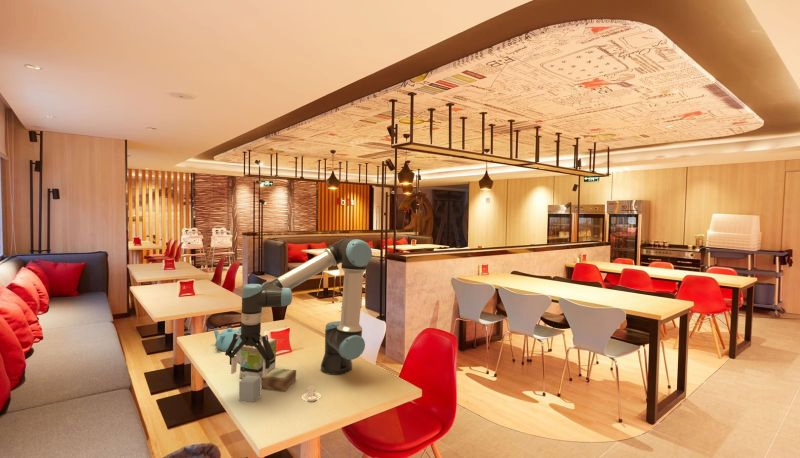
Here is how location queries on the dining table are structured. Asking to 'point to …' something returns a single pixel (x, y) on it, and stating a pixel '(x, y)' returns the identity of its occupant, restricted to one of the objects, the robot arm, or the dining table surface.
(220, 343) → the teapot
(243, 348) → the tea box
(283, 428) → the dining table surface
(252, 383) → the block
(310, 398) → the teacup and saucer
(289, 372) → the plinth
